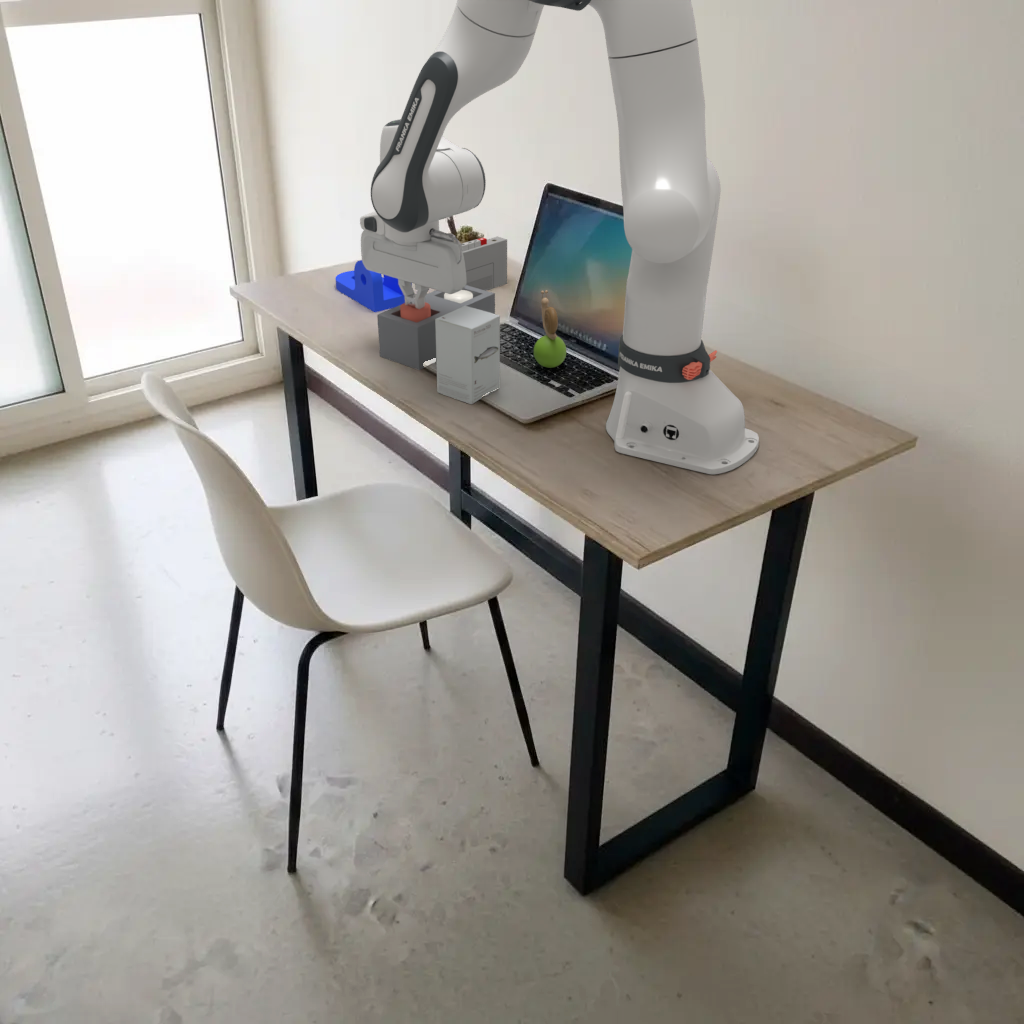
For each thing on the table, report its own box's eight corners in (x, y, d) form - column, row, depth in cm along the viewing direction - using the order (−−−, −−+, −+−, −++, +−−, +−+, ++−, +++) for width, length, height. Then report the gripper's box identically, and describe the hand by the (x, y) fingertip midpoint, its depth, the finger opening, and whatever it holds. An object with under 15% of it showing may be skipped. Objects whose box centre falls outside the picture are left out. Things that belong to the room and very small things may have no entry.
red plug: (437, 342, 179) (436, 305, 175) (418, 351, 175) (416, 314, 172) (415, 334, 181) (414, 298, 178) (396, 343, 178) (393, 307, 174)
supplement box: (472, 405, 163) (471, 329, 156) (435, 393, 167) (433, 317, 160) (501, 389, 168) (501, 314, 161) (465, 377, 172) (464, 303, 165)
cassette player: (497, 280, 211) (497, 231, 206) (507, 284, 209) (507, 234, 204) (439, 300, 201) (437, 249, 196) (448, 303, 200) (447, 252, 195)
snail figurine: (557, 355, 179) (559, 288, 173) (570, 370, 174) (573, 301, 168) (527, 359, 178) (528, 291, 172) (539, 374, 173) (541, 305, 166)
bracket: (412, 303, 200) (410, 257, 195) (374, 313, 196) (371, 266, 191) (365, 277, 212) (362, 233, 207) (328, 285, 208) (324, 241, 203)
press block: (494, 333, 187) (494, 293, 183) (419, 370, 174) (417, 327, 170) (456, 321, 192) (455, 282, 188) (379, 356, 179) (377, 314, 175)
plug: (479, 329, 187) (478, 294, 183) (460, 337, 183) (460, 302, 180) (457, 322, 189) (456, 287, 186) (439, 330, 186) (438, 295, 182)
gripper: (474, 231, 164) (475, 315, 171) (379, 207, 175) (384, 287, 182) (447, 241, 160) (450, 327, 167) (352, 216, 170) (358, 297, 178)
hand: (414, 306), depth 175 cm, fingers closed, pressing on red plug
